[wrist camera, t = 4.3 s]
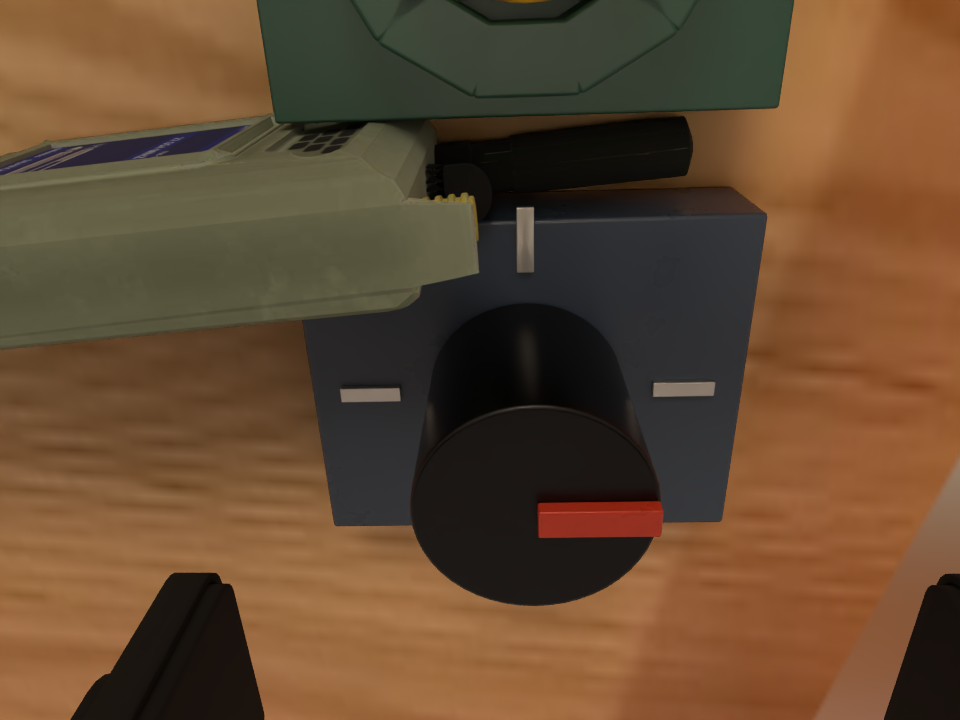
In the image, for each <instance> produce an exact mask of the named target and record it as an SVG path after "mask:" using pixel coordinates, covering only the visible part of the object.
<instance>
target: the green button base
mask: <svg viewBox="0 0 960 720" xmlns="http://www.w3.org/2000/svg"><path fill="white" fill-rule="evenodd" d="M793 5H794V0H549V1H543V2H534V3H509V2H504V1H498V0H257V7H258V13H259V20H260V26H261V33H262V39H263V46H264V52H265V59H266V65H267V72H268V78H269V85H270V91H271V98H272V104H273V111H274V117H275V121H276V123H278V124H291V123H323V122H355V121H387V120H419V119H451V118H483V117H515V116H547V115H580V114H612V113H644V112H676V111H708V110H740V109H772V108H777V107H778V106H779V100H780V94H781V87H782V80H783V73H784V66H785V60H786V53H787V46H788V39H789V32H790V25H791V19H792V12H793Z"/></svg>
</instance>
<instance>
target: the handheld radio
mask: <svg viewBox="0 0 960 720" xmlns="http://www.w3.org/2000/svg"><path fill="white" fill-rule="evenodd" d="M692 153H693V141H692V135H691V133H690V130H689V127H688V124H687V121H686V119H685V117H684V116H680V117H671V118H662V119H654V120H645V121H636V122H628V123H619V124H610V125H602V126H593V127H584V128H576V129H567V130H558V131H550V132H541V133H532V134H524V135H515V136H510V140H503V141H494V142H485V143H477V144H471V142H470V141H463V142H455V143H446V144H438V141H437V133H436V129H435V128H434V126H433V125H432V124H431V123H430V122H429V120H428V119H419V120H387V121H355V122H323V123H291V124H278V123H276V121H275V117H274V113H272V114H269V115H265V116H258V117H250V118H242V119H234V120H225V121H217V122H209V123H201V124H192V125H184V126H176V127H167V128H159V129H151V130H143V131H134V132H126V133H118V134H109V135H101V136H93V137H85V138H76V139H68V140H60V141H47V140H45V141H44V142H43V143H42V144H39V145H37V146H34V147H31V148H28V149H25V150H22V151H20V152H15V153H8V154H6V155H3V156H0V350H4V349H14V348H24V347H34V346H44V345H54V344H64V343H75V342H85V341H95V340H105V339H115V338H125V337H135V336H145V335H156V334H166V333H176V332H186V331H196V330H206V329H216V328H226V327H237V326H247V325H257V324H267V323H277V322H287V321H297V320H308V319H318V318H328V317H338V316H348V315H358V314H368V313H378V312H388V311H393V310H398V309H402V308H405V307H407V306H409V305H410V304H411V303H413V302H414V301H415V300H416V299H418V298H419V296H420V292H421V288H422V285H426V284H431V283H436V282H440V281H445V280H450V279H454V278H459V277H463V276H468V275H472V274H476V273H479V264H478V251H477V241H478V239H479V235H478V222H480V221H481V220H482V219H483V218H484V217H485V216H486V214H487V213H488V211H489V209H490V207H491V203H492V193H501V192H510V191H515V194H521V193H531V192H540V191H549V190H558V189H568V188H577V187H586V186H595V185H605V184H614V183H623V182H633V181H642V180H651V179H660V178H670V177H679V176H685V175H686V174H687V172H688V169H689V165H690V161H691V158H692Z"/></svg>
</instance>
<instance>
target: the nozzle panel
mask: <svg viewBox="0 0 960 720" xmlns="http://www.w3.org/2000/svg"><path fill="white" fill-rule="evenodd" d="M766 222H767V214H766V213H765V212H764V211H762V210H761V209H760V208H758V207H757V206H756V205H754V204H753V203H752V202H751V201H749V200H748V199H747V198H745V197H744V196H743V195H741V194H740V193H739V192H737V191H736V190H735V189H733V188H731V187H714V188H678V189H641V190H605V191H568V192H532V193H521V194H515V193H496V194H492V203H491V207H490V209H489V211H488V213H487V214H486V216H485V217H484V218H483V219H482V220H481V221H480V222H478V235H479V239H478V241H477V251H478V264H479V273H476V274H472V275H468V276H463V277H459V278H454V279H450V280H445V281H440V282H436V283H431V284H426V285H422V288H421V292H420V296H419V298H418V299H416V300H415V301H414V302H413V303H411V304H410V305H409V306H407V307H405V308H402V309H398V310H393V311H388V312H378V313H368V314H358V315H348V316H338V317H328V318H318V319H308V320H302V322H303V329H304V335H305V341H306V348H307V354H308V361H309V367H310V373H311V380H312V386H313V392H314V399H315V405H316V412H317V418H318V424H319V431H320V437H321V443H322V450H323V456H324V463H325V469H326V475H327V482H328V488H329V494H330V501H331V507H332V514H333V520H334V524H335V526H395V525H412V521H411V516H410V496H411V489H412V483H413V478H414V472H415V466H416V461H417V455H418V450H419V444H420V439H421V433H422V427H423V422H424V416H425V411H426V405H427V400H428V394H429V388H430V383H431V377H432V372H433V369H434V365H435V362H436V360H437V358H438V355H439V353H440V351H441V350H442V348H443V347H444V345H445V344H446V342H447V341H448V340H449V338H450V337H451V336H452V335H453V334H454V333H455V332H456V331H457V330H458V329H459V328H460V327H462V326H463V325H464V324H465V323H467V322H468V321H470V320H471V319H473V318H474V317H476V316H478V315H480V314H482V313H484V312H486V311H489V310H492V309H495V308H498V307H502V306H507V305H511V304H522V303H532V304H543V305H550V306H554V307H557V308H561V309H564V310H567V311H569V312H571V313H573V314H576V315H577V316H579V317H581V318H582V319H584V320H586V321H587V322H588V323H590V324H591V325H592V326H593V327H595V328H596V329H597V330H598V331H599V332H600V333H601V334H602V335H603V336H604V338H605V339H606V340H607V342H608V343H609V345H610V346H611V347H612V349H613V351H614V353H615V355H616V357H617V360H618V363H619V366H620V369H621V372H622V375H623V378H624V381H625V384H626V387H627V390H628V393H629V396H630V399H631V402H632V404H633V407H634V410H635V413H636V416H637V419H638V422H639V425H640V428H641V431H642V434H643V437H644V440H645V443H646V446H647V449H648V451H649V454H650V457H651V460H652V463H653V466H654V469H655V472H656V475H657V478H658V481H659V486H660V493H661V505H662V508H663V511H664V514H663V522H720V521H721V520H722V516H723V509H724V503H725V496H726V489H727V483H728V476H729V469H730V463H731V456H732V449H733V443H734V436H735V429H736V423H737V416H738V409H739V403H740V396H741V389H742V383H743V376H744V369H745V362H746V356H747V349H748V342H749V336H750V329H751V322H752V316H753V309H754V302H755V296H756V289H757V282H758V276H759V269H760V262H761V256H762V249H763V242H764V236H765V229H766Z"/></svg>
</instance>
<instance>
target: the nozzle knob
mask: <svg viewBox="0 0 960 720" xmlns="http://www.w3.org/2000/svg"><path fill="white" fill-rule="evenodd" d="M663 514H664V511H663V508H662V505H661V493H660V486H659V481H658V478H657V475H656V472H655V469H654V466H653V463H652V460H651V457H650V454H649V451H648V449H647V446H646V443H645V440H644V437H643V434H642V431H641V428H640V425H639V422H638V419H637V416H636V413H635V410H634V407H633V404H632V402H631V399H630V396H629V393H628V390H627V387H626V384H625V381H624V378H623V375H622V372H621V369H620V366H619V363H618V360H617V357H616V355H615V353H614V351H613V349H612V347H611V346H610V345H609V343H608V342H607V340H606V339H605V338H604V336H603V335H602V334H601V333H600V332H599V331H598V330H597V329H596V328H595V327H593V326H592V325H591V324H590V323H588V322H587V321H586V320H584V319H582V318H581V317H579V316H577V315H576V314H573V313H571V312H569V311H567V310H564V309H561V308H557V307H554V306H550V305H543V304H532V303H522V304H511V305H507V306H502V307H498V308H495V309H492V310H489V311H486V312H484V313H482V314H480V315H478V316H476V317H474V318H473V319H471V320H470V321H468V322H467V323H465V324H464V325H463V326H462V327H460V328H459V329H458V330H457V331H456V332H455V333H454V334H453V335H452V336H451V337H450V338H449V340H448V341H447V342H446V344H445V345H444V347H443V348H442V350H441V351H440V353H439V355H438V358H437V360H436V362H435V365H434V369H433V372H432V377H431V383H430V388H429V394H428V400H427V405H426V411H425V416H424V422H423V427H422V433H421V439H420V444H419V450H418V455H417V461H416V466H415V472H414V478H413V483H412V489H411V496H410V516H411V521H412V526H413V529H414V532H415V535H416V538H417V540H418V542H419V544H420V546H421V548H422V550H423V551H424V553H425V554H426V556H427V557H428V558H429V560H430V561H431V563H432V564H433V565H434V566H435V567H436V568H437V569H438V570H439V571H440V572H441V573H442V574H443V575H445V576H446V577H447V578H448V579H450V580H451V581H452V582H454V583H455V584H457V585H459V586H460V587H462V588H463V589H465V590H468V591H470V592H472V593H474V594H476V595H478V596H481V597H484V598H487V599H490V600H493V601H498V602H502V603H507V604H514V605H524V606H543V605H554V604H560V603H566V602H570V601H574V600H578V599H581V598H583V597H586V596H589V595H592V594H594V593H596V592H598V591H600V590H602V589H604V588H606V587H608V586H609V585H611V584H613V583H614V582H616V581H617V580H619V579H620V578H621V577H622V576H624V575H625V574H626V573H627V572H629V571H630V570H631V569H632V568H633V566H634V565H635V564H636V563H637V562H638V561H639V560H640V559H641V557H642V556H643V555H644V553H645V552H646V550H647V549H648V547H649V545H650V543H651V541H652V539H653V537H660V536H661V533H662V523H663Z"/></svg>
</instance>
